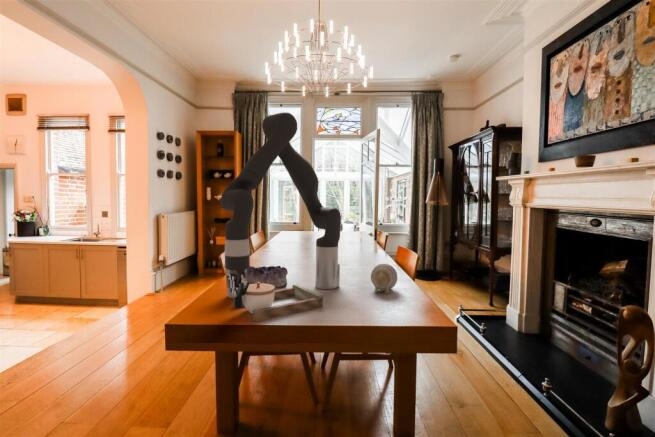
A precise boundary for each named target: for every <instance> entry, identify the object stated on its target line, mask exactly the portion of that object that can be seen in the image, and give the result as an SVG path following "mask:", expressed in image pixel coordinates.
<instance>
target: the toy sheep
mask: <svg viewBox="0 0 655 437" xmlns="http://www.w3.org/2000/svg"><path fill="white" fill-rule="evenodd" d="M370 281H371V283H372V285H373V286H374V293H376V294H378V293H379V290H381V291H384V294H385V295H388V294H389V290H392V289H393V288H394V287H395V286H396V284H397V282H398V272H397V269H395V268H394V267H393V266H392V265H390V264H388V263H380V264H378V265H376V266H374V267H373V269H372V270H371V273H370Z"/></svg>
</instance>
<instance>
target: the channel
mask: <svg viewBox="0 0 655 437" xmlns="http://www.w3.org/2000/svg"><path fill="white" fill-rule="evenodd" d="M291 297H292V298H293V297H296V298H298V299H300V300H298V301H294V302H288V303H284V304H283V303H282V304H279V305H272V306H271V307H268V308H263V309H258V310H253V313H252V321H253V322H260V321H261V322H262V321H266V320H270V319H273V318H277V317H282V316H286V315H287V316H288V315H291V314H295V313H299V312H304V311H308V310H313V309H316V308H321V307H323V306H324V295H323V294H322V293H319V292H318V291H315V290H312V289H309V288H308V287H305V286H303V285H301V284H298V283H296V284H292V287H288V288H283V289H282V288H281V289H275V296H274V301H277V300H281V299H286V298H291ZM242 307H245V306H244V304H243V300H242Z"/></svg>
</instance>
